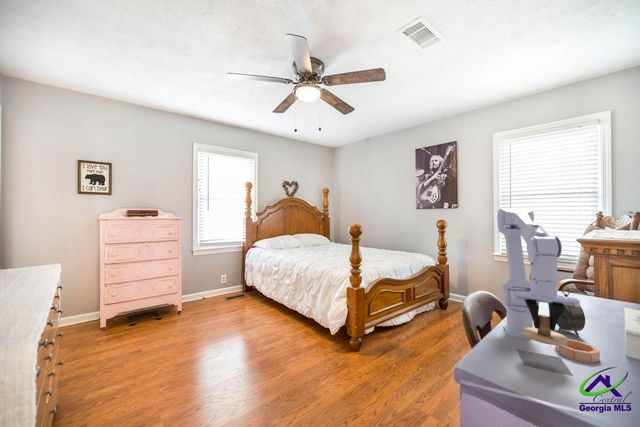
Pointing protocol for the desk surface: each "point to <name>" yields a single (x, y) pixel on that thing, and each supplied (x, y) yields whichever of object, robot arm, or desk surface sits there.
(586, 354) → the bowl
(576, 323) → the alarm clock
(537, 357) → the mat
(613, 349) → the desk surface
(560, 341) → the lid
